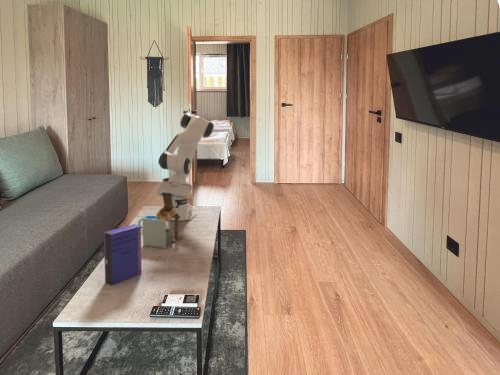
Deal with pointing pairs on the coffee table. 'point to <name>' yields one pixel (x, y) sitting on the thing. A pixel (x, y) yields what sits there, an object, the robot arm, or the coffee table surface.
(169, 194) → the chute
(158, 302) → the coffee table surface
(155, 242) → the bin
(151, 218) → the mug
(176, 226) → the stand
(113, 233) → the cereal box
